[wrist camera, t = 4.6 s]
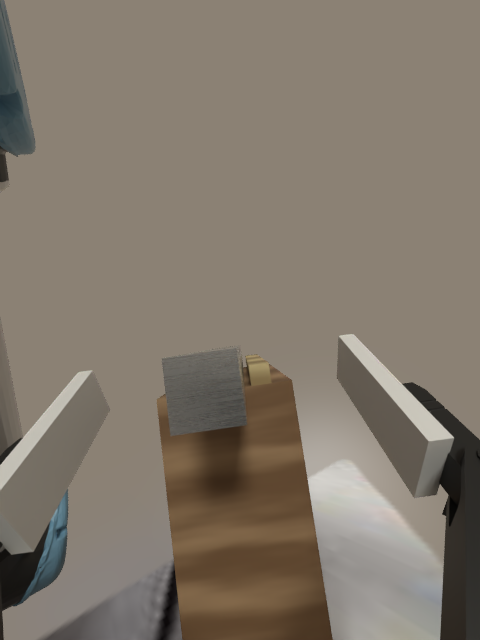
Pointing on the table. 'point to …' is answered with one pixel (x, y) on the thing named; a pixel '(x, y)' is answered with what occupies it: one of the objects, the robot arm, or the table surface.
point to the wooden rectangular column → (245, 521)
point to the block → (205, 390)
